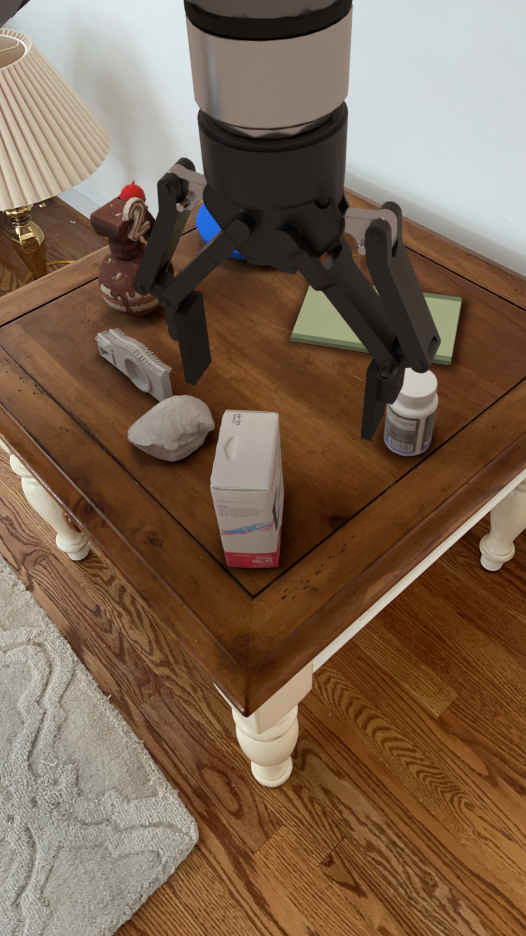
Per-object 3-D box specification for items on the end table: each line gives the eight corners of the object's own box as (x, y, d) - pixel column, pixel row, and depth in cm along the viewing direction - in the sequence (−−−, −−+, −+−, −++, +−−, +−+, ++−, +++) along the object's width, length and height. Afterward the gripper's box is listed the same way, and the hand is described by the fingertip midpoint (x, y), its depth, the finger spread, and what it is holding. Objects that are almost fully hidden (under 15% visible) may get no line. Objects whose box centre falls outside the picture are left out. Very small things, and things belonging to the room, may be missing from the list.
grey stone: (181, 482, 73) (174, 450, 69) (117, 450, 76) (107, 418, 72) (230, 425, 78) (226, 391, 74) (167, 397, 80) (160, 363, 77)
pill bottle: (416, 416, 77) (426, 357, 71) (439, 448, 74) (452, 390, 68) (374, 430, 76) (381, 371, 70) (396, 463, 73) (405, 405, 67)
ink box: (278, 571, 67) (273, 493, 57) (222, 567, 67) (208, 490, 58) (285, 492, 72) (282, 409, 63) (233, 489, 72) (222, 407, 63)
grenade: (140, 272, 94) (116, 160, 82) (193, 292, 91) (176, 179, 79) (92, 316, 89) (59, 204, 77) (146, 338, 86) (120, 225, 75)
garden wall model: (99, 357, 85) (86, 316, 80) (111, 348, 86) (100, 308, 81) (166, 410, 79) (157, 370, 75) (179, 401, 80) (171, 361, 75)
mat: (290, 341, 85) (290, 337, 84) (312, 281, 91) (312, 277, 91) (450, 365, 81) (451, 361, 81) (461, 301, 88) (462, 297, 87)
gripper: (546, 108, 35) (468, 412, 52) (99, 34, 42) (158, 321, 59) (507, 192, 31) (436, 492, 48) (20, 94, 38) (107, 384, 55)
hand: (282, 398), depth 53 cm, fingers open, 13 cm apart
